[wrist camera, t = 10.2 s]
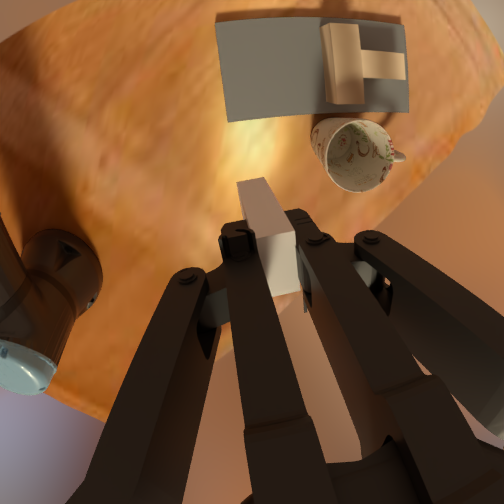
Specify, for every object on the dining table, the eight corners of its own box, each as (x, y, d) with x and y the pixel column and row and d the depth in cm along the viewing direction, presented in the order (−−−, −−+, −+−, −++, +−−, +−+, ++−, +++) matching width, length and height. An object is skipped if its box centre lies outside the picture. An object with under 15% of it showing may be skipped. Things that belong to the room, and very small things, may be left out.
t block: (326, 101, 36) (337, 104, 33) (319, 27, 31) (329, 22, 28) (391, 101, 36) (406, 104, 33) (386, 32, 31) (401, 29, 28)
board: (227, 121, 38) (228, 122, 37) (215, 25, 31) (214, 22, 30) (403, 111, 39) (409, 112, 37) (398, 26, 32) (404, 25, 31)
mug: (303, 107, 38) (328, 116, 29) (388, 115, 39) (428, 128, 30) (300, 167, 42) (322, 192, 33) (381, 170, 43) (417, 195, 35)
